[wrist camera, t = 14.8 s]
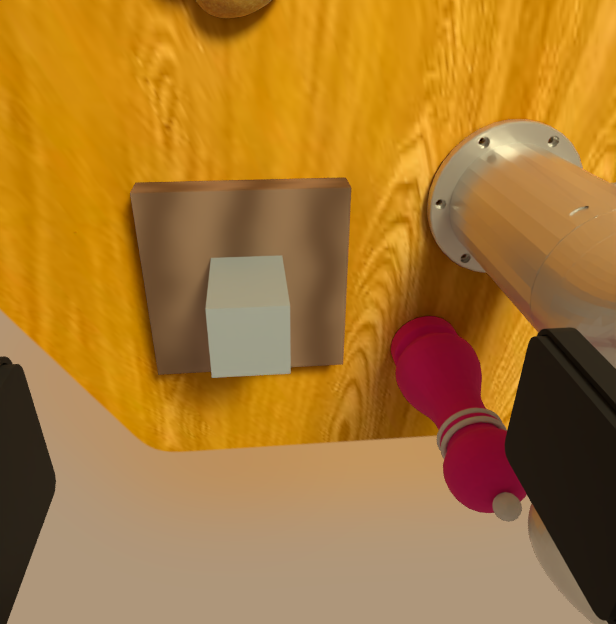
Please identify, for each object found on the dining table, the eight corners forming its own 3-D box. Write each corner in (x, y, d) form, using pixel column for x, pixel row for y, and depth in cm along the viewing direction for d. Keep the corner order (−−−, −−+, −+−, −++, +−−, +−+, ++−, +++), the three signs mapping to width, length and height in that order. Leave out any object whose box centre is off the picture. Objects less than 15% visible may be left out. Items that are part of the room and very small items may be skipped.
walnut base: (345, 177, 44) (351, 187, 42) (338, 348, 52) (342, 364, 50) (135, 182, 42) (129, 193, 40) (161, 357, 50) (158, 374, 48)
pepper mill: (396, 385, 55) (468, 568, 37) (375, 326, 51) (445, 499, 34) (467, 360, 54) (574, 534, 37) (452, 299, 50) (562, 461, 33)
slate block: (282, 255, 44) (290, 305, 37) (283, 316, 46) (290, 373, 40) (210, 257, 43) (205, 309, 36) (216, 319, 46) (211, 377, 39)
